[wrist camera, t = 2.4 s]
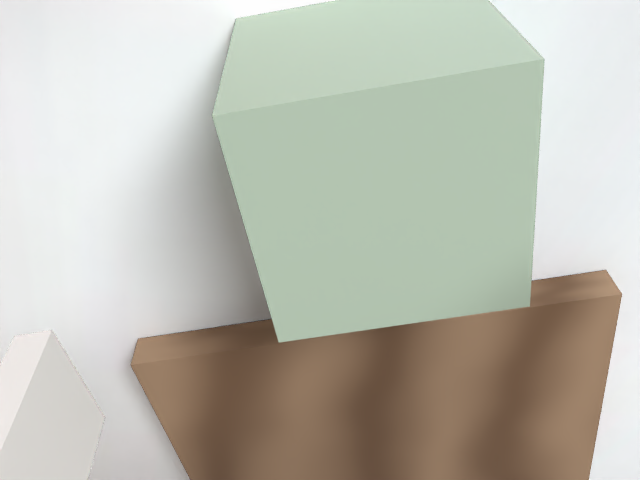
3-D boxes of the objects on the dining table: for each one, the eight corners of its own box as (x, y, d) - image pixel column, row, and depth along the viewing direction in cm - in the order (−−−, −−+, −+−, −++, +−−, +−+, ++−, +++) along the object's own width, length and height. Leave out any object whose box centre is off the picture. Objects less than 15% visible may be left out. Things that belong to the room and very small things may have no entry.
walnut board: (606, 270, 25) (621, 293, 24) (576, 463, 33) (586, 488, 32) (138, 338, 26) (130, 365, 25) (221, 508, 35) (218, 534, 33)
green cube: (465, -25, 18) (544, 59, 12) (469, 175, 22) (529, 306, 17) (236, 17, 18) (211, 115, 13) (282, 205, 23) (278, 342, 17)
